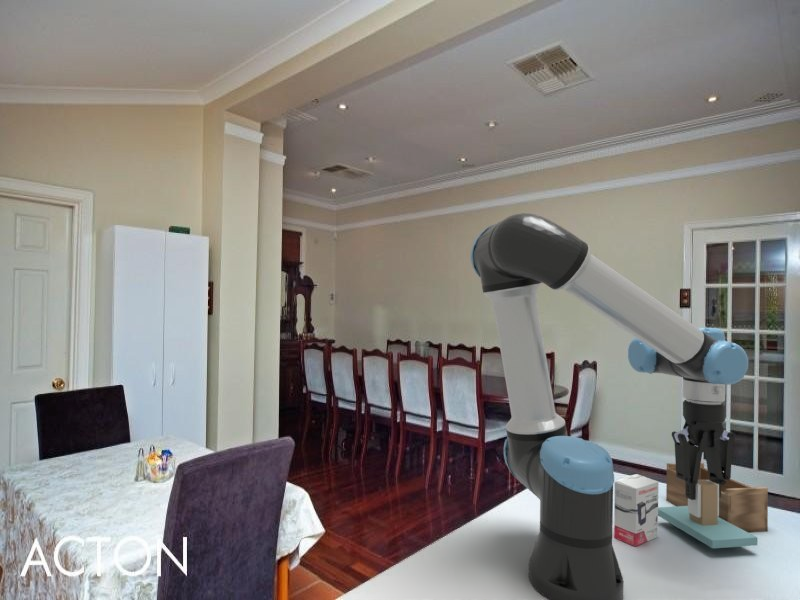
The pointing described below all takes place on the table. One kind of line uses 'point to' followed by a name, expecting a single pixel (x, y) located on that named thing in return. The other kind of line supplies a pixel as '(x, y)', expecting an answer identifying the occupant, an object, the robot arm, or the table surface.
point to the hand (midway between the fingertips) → (703, 513)
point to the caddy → (727, 500)
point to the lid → (707, 521)
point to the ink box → (636, 509)
